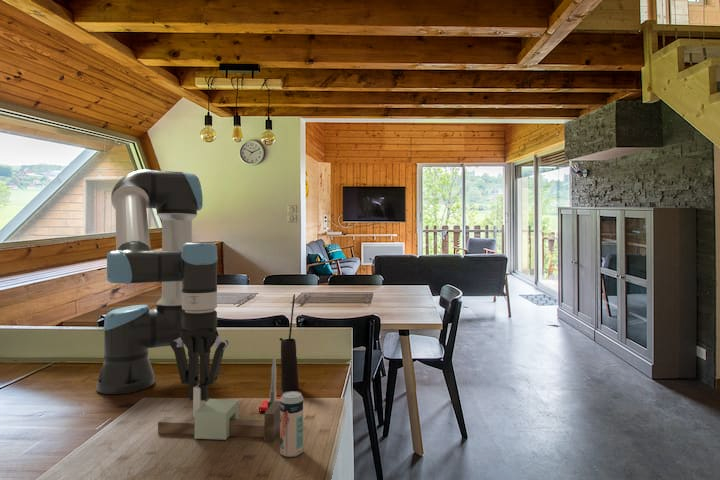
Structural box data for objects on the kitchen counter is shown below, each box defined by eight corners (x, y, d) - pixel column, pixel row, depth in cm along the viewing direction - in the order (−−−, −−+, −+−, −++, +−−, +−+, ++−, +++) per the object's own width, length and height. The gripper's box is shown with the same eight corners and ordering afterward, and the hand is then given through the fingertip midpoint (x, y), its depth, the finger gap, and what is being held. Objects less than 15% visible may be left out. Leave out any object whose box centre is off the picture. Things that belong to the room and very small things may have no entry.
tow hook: (268, 400, 119) (254, 412, 109) (270, 349, 119) (256, 357, 110) (300, 402, 117) (288, 415, 107) (301, 351, 118) (290, 359, 108)
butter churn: (263, 390, 125) (263, 294, 125) (286, 381, 133) (286, 290, 133) (286, 397, 120) (286, 296, 120) (308, 387, 127) (309, 293, 127)
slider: (194, 438, 94) (194, 412, 94) (209, 422, 102) (209, 398, 102) (225, 439, 94) (226, 413, 94) (238, 423, 102) (238, 399, 102)
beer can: (280, 447, 91) (281, 390, 91) (303, 446, 91) (304, 390, 91) (278, 459, 86) (278, 399, 86) (302, 458, 86) (302, 398, 86)
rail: (153, 437, 95) (153, 410, 95) (169, 423, 102) (169, 398, 102) (273, 441, 93) (273, 414, 93) (281, 427, 100) (281, 401, 100)
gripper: (163, 312, 95) (162, 420, 95) (220, 313, 94) (220, 422, 94) (180, 307, 102) (179, 406, 102) (233, 308, 101) (233, 408, 101)
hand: (199, 414), depth 98 cm, fingers closed
